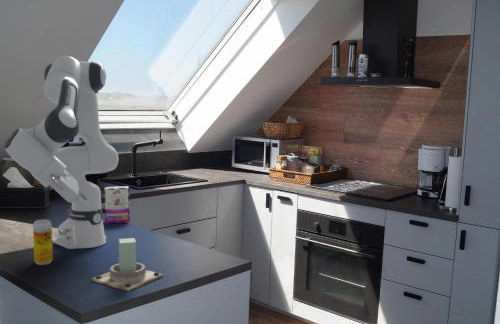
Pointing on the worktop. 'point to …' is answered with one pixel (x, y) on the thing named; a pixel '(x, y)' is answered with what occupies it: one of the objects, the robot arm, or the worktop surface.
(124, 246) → the green peg
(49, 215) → the worktop surface
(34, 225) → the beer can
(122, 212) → the candy bar box
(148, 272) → the bolt socket plate
